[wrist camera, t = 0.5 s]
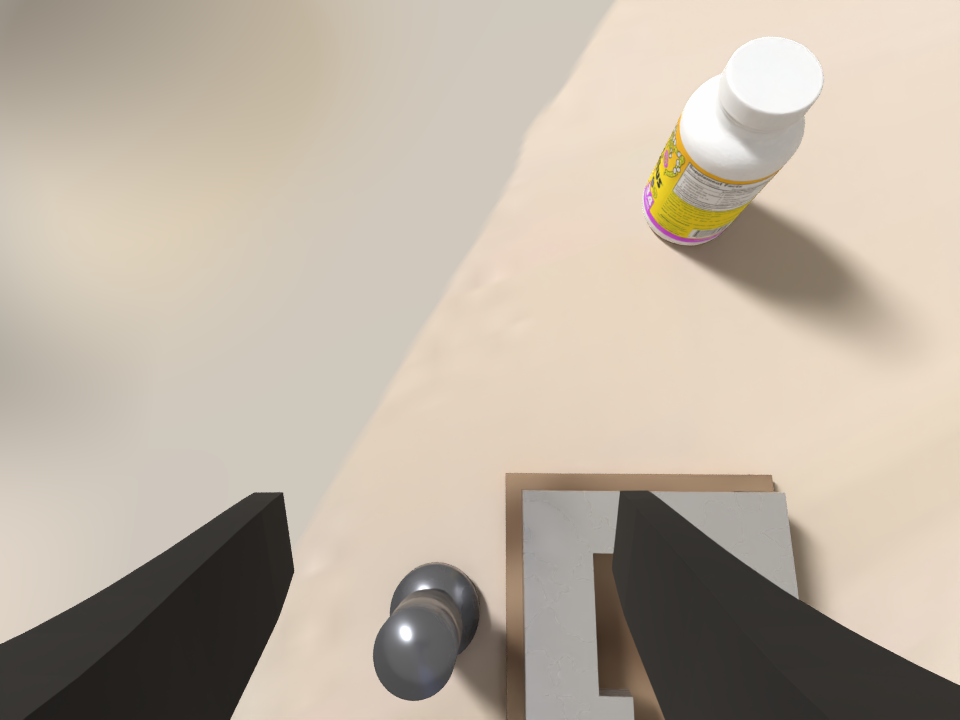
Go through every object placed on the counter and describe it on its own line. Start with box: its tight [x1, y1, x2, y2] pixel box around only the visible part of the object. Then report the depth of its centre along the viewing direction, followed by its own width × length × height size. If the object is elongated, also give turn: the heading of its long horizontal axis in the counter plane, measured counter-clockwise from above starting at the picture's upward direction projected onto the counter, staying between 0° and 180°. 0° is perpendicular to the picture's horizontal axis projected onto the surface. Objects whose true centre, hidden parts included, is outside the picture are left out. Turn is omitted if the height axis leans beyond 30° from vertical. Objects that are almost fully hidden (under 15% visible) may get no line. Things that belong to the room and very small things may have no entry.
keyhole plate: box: [521, 489, 799, 720], centre depth 28 cm, size 20×15×3 cm
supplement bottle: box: [642, 37, 824, 245], centre depth 31 cm, size 7×7×13 cm
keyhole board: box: [506, 473, 774, 720], centre depth 30 cm, size 22×17×1 cm
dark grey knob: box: [373, 562, 480, 701], centre depth 27 cm, size 6×6×8 cm
